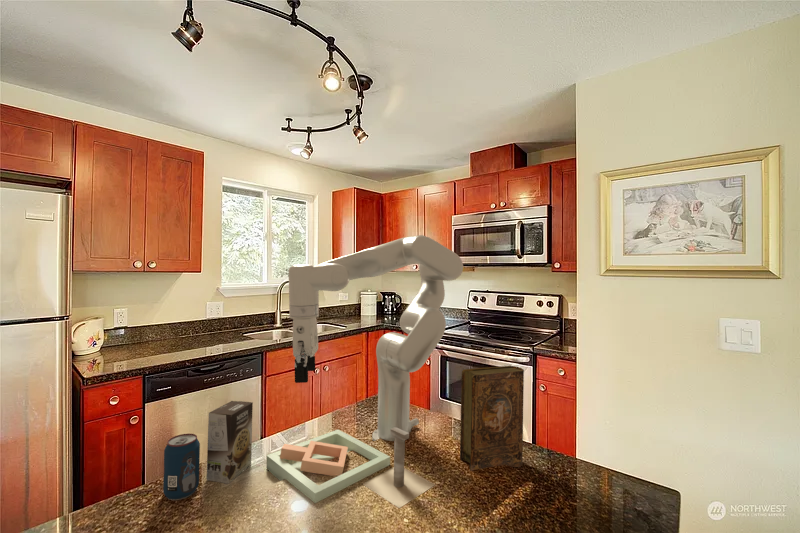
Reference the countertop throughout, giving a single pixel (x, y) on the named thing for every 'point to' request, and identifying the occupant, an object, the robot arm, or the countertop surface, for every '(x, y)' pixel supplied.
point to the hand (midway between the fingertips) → (305, 376)
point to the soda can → (181, 466)
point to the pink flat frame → (315, 464)
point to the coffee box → (229, 441)
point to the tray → (318, 492)
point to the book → (492, 416)
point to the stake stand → (398, 477)
